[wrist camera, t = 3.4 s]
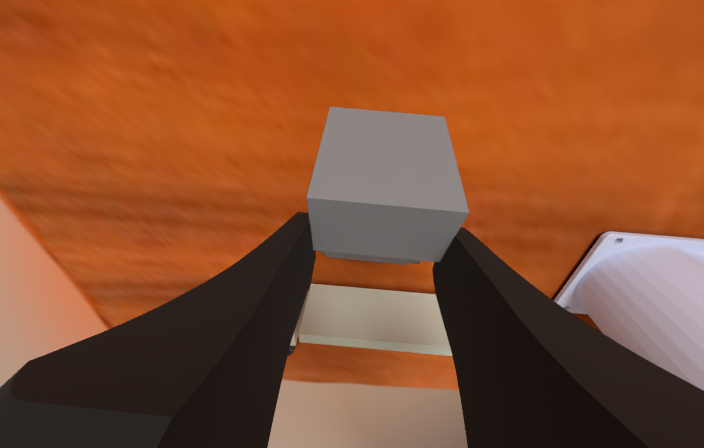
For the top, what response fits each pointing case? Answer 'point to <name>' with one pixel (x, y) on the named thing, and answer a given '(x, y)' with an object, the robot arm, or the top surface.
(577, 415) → the robot arm
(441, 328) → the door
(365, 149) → the staircase
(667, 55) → the top surface
